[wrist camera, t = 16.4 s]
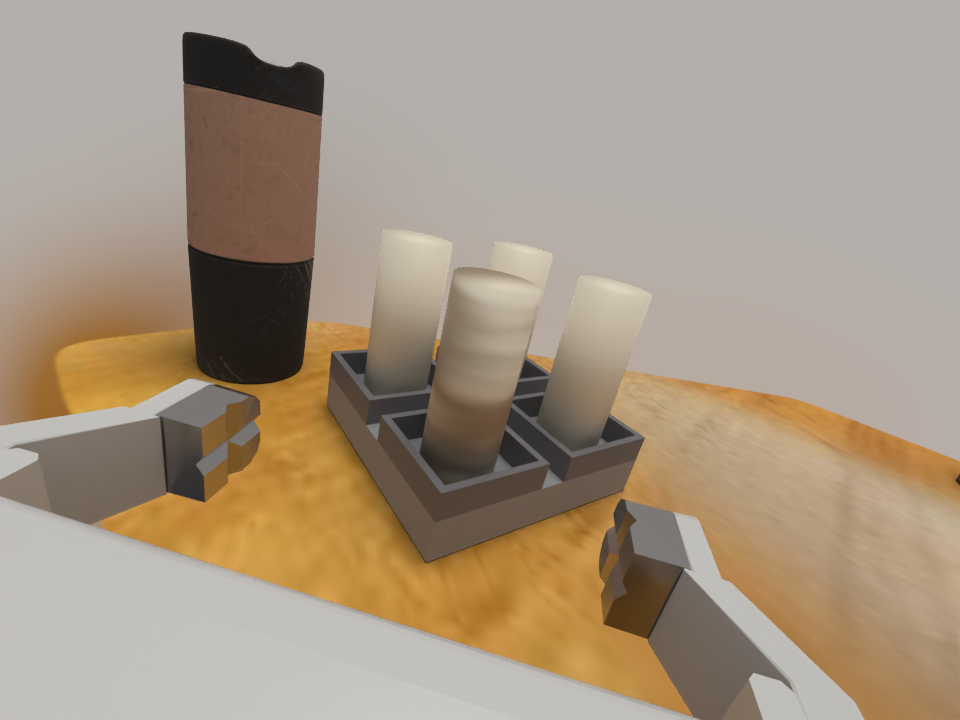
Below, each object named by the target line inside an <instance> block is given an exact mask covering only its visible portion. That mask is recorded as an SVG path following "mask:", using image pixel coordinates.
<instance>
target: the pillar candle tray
mask: <svg viewBox="0 0 960 720" xmlns="http://www.w3.org/2000/svg"><path fill="white" fill-rule="evenodd" d="M452 247H453V244H452V243H451V242H449V241H447V240H445V239H442V238H440V237H436V236H433V235H429V234H425V233H420V232H415V231H409V230H401V229H385V230H383V232H382V240H381V248H380V256H379V264H378V273H377V280H376V288H375V296H374V304H373V312H372V321H371V329H370V337H369V345H368V350H351V351H333V352H332V354H331V365H330V376H329V387H328V398H327V406H328V407H329V409H330V411H331V412H332V414H333V415H334V417H335V419H336V420H337V422H338V423H339V425H340V427H341V428H342V430H343V431H344V433H345V435H346V436H347V438H348V439H349V441H350V442H351V444H352V446H353V447H354V449H355V450H356V452H357V454H358V455H359V457H360V458H361V460H362V462H363V463H364V465H365V466H366V468H367V470H368V471H369V473H370V474H371V476H372V477H373V479H374V481H375V482H376V484H377V485H378V487H379V489H380V490H381V492H382V493H383V495H384V497H385V498H386V500H387V501H388V503H389V505H390V506H391V508H392V509H393V511H394V512H395V514H396V516H397V517H398V519H399V520H400V522H401V524H402V525H403V527H404V528H405V530H406V532H407V533H408V535H409V536H410V538H411V540H412V541H413V543H414V544H415V546H416V548H417V549H418V551H419V552H420V554H421V555H422V557H423V559H424V560H425V562H426V563H427V562H430V561H432V560H435V559H438V558H440V557H443V556H446V555H449V554H451V553H454V552H457V551H459V550H462V549H465V548H468V547H470V546H473V545H476V544H478V543H481V542H484V541H487V540H489V539H492V538H495V537H497V536H500V535H503V534H506V533H508V532H511V531H514V530H516V529H519V528H522V527H524V526H527V525H530V524H533V523H535V522H538V521H541V520H543V519H546V518H549V517H552V516H554V515H557V514H560V513H562V512H565V511H568V510H571V509H573V508H576V507H579V506H581V505H584V504H587V503H590V502H592V501H595V500H598V499H600V498H603V497H606V496H608V495H611V494H614V493H617V492H619V491H622V490H624V487H625V485H626V482H627V480H628V477H629V475H630V473H631V470H632V468H633V465H634V463H635V460H636V458H637V456H638V453H639V451H640V448H641V446H642V443H643V441H644V437H643V436H641V435H640V434H638V433H637V432H636V431H634V430H633V429H631V428H630V427H628V426H627V425H625V424H624V423H622V422H621V421H619V420H618V419H616V418H615V417H614V416H612V415H611V414H609V413H610V410H611V408H612V405H613V402H614V400H615V397H616V394H617V391H618V389H619V386H620V383H621V380H622V378H623V375H624V372H625V370H626V367H627V364H628V361H629V358H630V356H631V353H632V350H633V348H634V345H635V342H636V340H637V337H638V334H639V331H640V329H641V326H642V323H643V321H644V317H645V315H646V312H647V310H648V307H649V304H650V301H651V299H652V295H651V294H650V293H648V292H646V291H644V290H642V289H640V288H638V287H635V286H632V285H629V284H626V283H623V282H619V281H616V280H612V279H608V278H603V277H597V276H589V275H583V276H580V277H579V280H578V283H577V287H576V290H575V294H574V297H573V300H572V304H571V307H570V310H569V314H568V317H567V320H566V324H565V327H564V330H563V334H562V337H561V340H560V344H559V347H558V350H557V354H556V357H555V360H554V364H553V367H552V371H551V374H550V373H549V372H547V371H546V370H544V369H543V368H542V367H540V366H539V365H537V364H536V363H534V362H533V361H531V360H530V359H528V358H527V357H526V355H527V351H528V347H529V344H530V340H531V336H532V333H533V329H534V325H535V321H536V317H537V314H538V310H539V306H540V303H541V299H542V295H543V292H544V288H545V285H546V281H547V277H548V273H549V270H550V266H551V262H552V259H553V255H552V254H551V253H549V252H547V251H544V250H542V249H539V248H535V247H532V246H528V245H524V244H519V243H514V242H507V241H496V242H495V244H494V249H493V254H492V259H491V263H490V267H489V270H495V271H499V272H504V273H507V274H511V275H514V276H518V277H520V278H523V279H526V280H528V281H530V282H532V283H534V284H536V285H538V286H539V287H540V288H541V289H542V293H541V296H540V300H539V304H538V308H537V311H536V315H535V319H534V323H533V326H532V330H531V334H530V338H529V341H528V345H527V349H526V353H525V356H524V360H523V364H522V368H521V371H520V375H519V379H518V383H517V386H516V390H515V394H514V398H513V401H512V405H511V409H510V413H509V416H508V420H507V424H506V428H505V431H504V435H503V439H502V443H501V446H500V450H499V454H498V458H497V461H496V465H495V469H494V473H490V474H487V475H483V476H479V477H475V478H471V479H468V480H464V481H460V482H456V483H452V484H449V485H444V484H443V483H442V481H441V480H440V479H439V478H438V476H437V475H436V474H435V473H434V471H433V470H432V469H431V468H430V466H429V465H428V464H427V463H426V461H425V460H424V459H423V458H422V456H421V455H420V454H419V453H420V448H421V443H422V437H423V432H424V427H425V421H426V416H427V410H428V405H429V400H430V394H431V389H432V384H433V378H434V373H435V368H436V362H437V357H438V352H439V346H438V350H437V355H436V360H433V359H432V356H433V350H434V345H435V339H436V333H437V329H438V323H439V317H440V312H441V307H442V301H443V296H444V291H445V285H446V279H447V274H448V269H449V263H450V258H451V252H452Z"/></svg>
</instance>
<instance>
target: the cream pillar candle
mask: <svg viewBox="0 0 960 720" xmlns="http://www.w3.org/2000/svg"><path fill="white" fill-rule="evenodd" d="M541 293H542V289H541V288H540V287H539V286H538V285H536V284H534V283H532V282H530V281H528V280H526V279H523V278H520V277H518V276H514V275H511V274H507V273H504V272H499V271H495V270H489V269H483V268H472V267H465V268H464V267H463V268H457V269H455V270H454V271H453V277H452V282H451V288H450V293H449V298H448V303H447V309H446V314H445V319H444V325H443V330H442V336H441V341H440V346H439V352H438V357H437V362H436V368H435V373H434V378H433V384H432V389H431V394H430V400H429V405H428V410H427V416H426V421H425V427H424V432H423V437H422V443H421V448H420V453H419V454H420V455H421V456H422V458H423V459H424V460H425V461H426V463H427V464H428V465H429V466H430V468H431V469H432V470H433V471H434V473H435V474H436V475H437V476H438V478H439V479H440V480H441V481H442V483H443V484H444V485H449V484H452V483H456V482H460V481H464V480H468V479H471V478H475V477H479V476H483V475H487V474H490V473H494V469H495V465H496V461H497V458H498V454H499V450H500V446H501V443H502V439H503V435H504V431H505V428H506V424H507V420H508V416H509V413H510V409H511V405H512V401H513V398H514V394H515V390H516V386H517V383H518V379H519V375H520V371H521V368H522V364H523V360H524V356H525V353H526V349H527V345H528V341H529V338H530V334H531V330H532V326H533V323H534V319H535V315H536V311H537V308H538V304H539V300H540V296H541Z"/></svg>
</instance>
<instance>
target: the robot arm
mask: <svg viewBox="0 0 960 720" xmlns="http://www.w3.org/2000/svg"><path fill="white" fill-rule="evenodd" d="M259 415H260V401H259V400H258V399H257V398H256V396H253V395H250V394H246V393H243V392H240V391H236V390H233V389H230V388H226V387H223V386H220V385H215V384H213V383H210V382H206V381H202V380H199V379H187V380H185V381H183V382H181V383H179V384H177V385H175V386H173V387H171V388H169V389H167V390H165V391H163V392H162V393H160V394H158V395H156V396H154V397H152V398H150V399H148V400H146V401H144V402H142V403H140V404H138V405H136V406H134V407H132V408H128V407H124V406H123V407H117V408H111V409H104V410H98V411H92V412H85V413H79V414H73V415H66V416H60V417H54V418H48V419H42V420H35V421H29V422H22V423H16V424H10V425H4V426H0V720H864V718H863V716H862V714H861V712H860V710H859V709H858V707H857V705H856V703H855V702H854V701H853V700H852V699H851V698H850V697H849V696H848V695H847V694H846V693H845V692H844V691H843V690H842V689H841V688H840V687H839V686H838V685H837V684H836V683H835V682H834V681H832V680H831V679H830V678H829V677H828V676H827V675H826V674H825V673H824V672H823V671H822V670H821V669H820V668H819V667H818V666H817V665H816V664H815V663H814V662H813V661H812V660H811V659H810V658H809V657H808V656H807V655H805V654H804V653H803V652H802V651H801V650H800V649H799V648H798V647H797V646H796V645H795V644H794V643H793V642H792V641H791V640H790V639H789V638H788V637H787V636H786V635H785V634H784V633H783V632H782V631H781V630H780V629H779V628H777V627H776V626H775V625H774V624H773V623H772V622H771V621H770V620H769V619H768V618H767V617H766V616H765V615H764V614H763V613H762V612H761V611H760V610H759V609H758V608H757V607H756V606H755V605H754V604H753V603H752V602H751V601H749V600H748V599H747V598H746V597H745V596H744V595H743V594H742V593H741V592H740V591H739V590H738V589H737V588H736V587H735V586H734V585H733V584H732V583H731V582H729V581H726V580H722V578H721V575H720V573H719V570H718V568H717V565H716V563H715V560H714V558H713V555H712V552H711V550H710V547H709V545H708V542H707V540H706V537H705V535H704V532H703V530H702V527H701V524H700V522H699V520H698V519H696V518H695V517H692V516H688V515H684V514H680V513H676V512H672V511H666V510H662V509H658V508H654V507H651V506H647V505H643V504H639V503H635V502H631V501H628V500H624V499H621V500H620V501H619V503H618V504H617V507H616V509H615V512H614V522H615V526H614V527H612V528H610V529H609V530H607V532H606V534H605V537H604V540H603V543H602V547H601V552H600V559H599V573H600V578H601V579H602V580H603V582H604V583H605V587H604V589H603V591H602V594H601V600H602V612H603V624H604V625H607V626H610V627H613V628H616V629H619V630H622V631H625V632H628V633H631V634H634V635H637V636H640V637H643V638H646V639H648V643H649V645H650V646H651V648H652V650H653V651H654V653H655V655H656V656H657V658H658V659H659V661H660V663H661V664H662V666H663V668H664V669H665V671H666V673H667V674H668V676H669V677H670V679H671V681H672V682H673V684H674V686H675V687H676V689H677V690H678V692H679V694H680V695H681V697H682V699H683V700H684V702H685V704H686V705H687V707H688V708H689V710H690V712H691V713H692V715H693V717H691V716H688V715H685V714H682V713H679V712H676V711H673V710H670V709H666V708H663V707H660V706H657V705H654V704H651V703H648V702H644V701H641V700H638V699H635V698H632V697H629V696H625V695H622V694H619V693H616V692H613V691H610V690H606V689H603V688H600V687H597V686H594V685H590V684H587V683H584V682H581V681H578V680H575V679H571V678H568V677H565V676H562V675H559V674H556V673H552V672H549V671H546V670H543V669H540V668H537V667H534V666H531V665H528V664H524V663H521V662H518V661H515V660H512V659H509V658H506V657H503V656H500V655H496V654H493V653H490V652H487V651H484V650H481V649H478V648H475V647H472V646H468V645H465V644H462V643H459V642H456V641H453V640H450V639H447V638H444V637H440V636H437V635H434V634H431V633H428V632H425V631H422V630H419V629H416V628H412V627H409V626H406V625H403V624H400V623H397V622H394V621H391V620H387V619H384V618H381V617H378V616H375V615H372V614H369V613H365V612H362V611H359V610H356V609H353V608H350V607H347V606H343V605H340V604H337V603H334V602H331V601H328V600H324V599H321V598H318V597H315V596H312V595H309V594H306V593H302V592H299V591H296V590H293V589H290V588H287V587H284V586H280V585H277V584H274V583H271V582H268V581H265V580H262V579H258V578H255V577H252V576H249V575H246V574H243V573H239V572H236V571H233V570H230V569H227V568H224V567H221V566H218V565H214V564H211V563H208V562H205V561H202V560H199V559H196V558H192V557H189V556H186V555H183V554H180V553H177V552H174V551H170V550H167V549H164V548H161V547H158V546H155V545H152V544H148V543H145V542H142V541H139V540H136V539H133V538H130V537H127V536H123V535H120V534H117V533H114V532H111V531H108V530H105V529H101V528H98V527H95V526H92V525H90V524H93V523H95V522H98V521H100V520H103V519H106V518H108V517H111V516H113V515H116V514H118V513H121V512H123V511H126V510H128V509H131V508H133V507H136V506H138V505H141V504H143V503H146V502H148V501H151V500H153V499H156V498H158V497H161V496H163V495H166V494H167V492H169V493H172V494H176V495H180V496H183V497H187V498H191V499H194V500H198V501H202V502H206V501H207V500H209V499H210V498H211V497H212V496H213V495H214V494H215V493H217V492H218V491H219V490H220V489H221V488H222V487H223V486H225V485H226V484H227V483H228V475H229V474H232V473H236V472H239V471H242V470H243V469H244V468H245V467H246V466H247V465H248V464H249V463H250V462H251V461H252V459H253V457H254V456H255V454H256V452H257V450H258V446H259V442H260V430H259V429H258V427H257V425H256V423H255V422H254V420H255V419H256V418H257V417H258V416H259Z"/></svg>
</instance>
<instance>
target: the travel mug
mask: <svg viewBox="0 0 960 720" xmlns="http://www.w3.org/2000/svg"><path fill="white" fill-rule="evenodd" d="M182 43H183V81H184V120H185V157H186V195H187V196H186V197H187V235H188V243H189V244H188V252H189V266H190V279H191V293H192V307H193V320H194V334H195V346H196V356H197V363H198V366H199V368H200V369H201V370H202V371H203V372H204V373H206V374H207V375H209V376H211V377H214V378H216V379H219V380H223V381H228V382H234V383H245V384H258V383H268V382H274V381H279V380H282V379H285V378H288V377H290V376H292V375H294V374H295V373H297V372H298V371H299V370H300V368H301V366H302V364H303V357H304V348H305V339H306V329H307V319H308V309H309V300H310V290H311V280H312V269H313V260H314V258H313V256H314V247H315V230H316V228H315V227H316V212H317V195H318V178H319V160H320V142H321V126H322V116H321V115H322V109H323V91H324V73H323V71H322V70H320V69H318V68H316V67H314V66H312V65H310V64H307V63H304V62H297V63H295V64H294V65H293V66H291V67H282V66H279V65H276V64H274V63H271V62H268V61H265V60H261V59H259V58H257V57H256V56H255V55H254V54H253V52H252V51H251V50H250V49H249V48H248V47H247V46H246V45H243V44H241V43H239V42H236V41H233V40H229V39H225V38H221V37H216V36H212V35H207V34H201V33H194V32H185V33H184V34H183V42H182Z"/></svg>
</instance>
